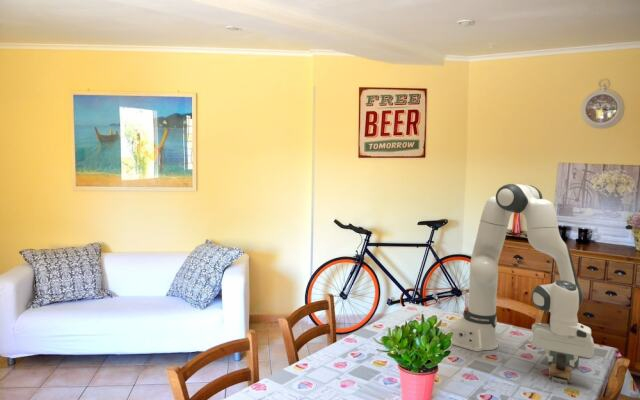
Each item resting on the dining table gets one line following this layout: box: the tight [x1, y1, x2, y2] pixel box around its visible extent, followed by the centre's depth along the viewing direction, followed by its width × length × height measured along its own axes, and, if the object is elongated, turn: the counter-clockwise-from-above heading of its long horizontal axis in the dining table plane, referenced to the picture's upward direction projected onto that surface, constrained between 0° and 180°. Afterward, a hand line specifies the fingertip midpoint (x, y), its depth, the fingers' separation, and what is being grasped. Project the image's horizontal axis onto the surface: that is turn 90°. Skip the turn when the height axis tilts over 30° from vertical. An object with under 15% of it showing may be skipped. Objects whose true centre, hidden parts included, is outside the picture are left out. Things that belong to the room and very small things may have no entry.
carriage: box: [548, 353, 573, 384], centre depth 175 cm, size 7×6×8 cm
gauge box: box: [548, 350, 580, 370], centre depth 188 cm, size 10×7×6 cm
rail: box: [550, 362, 570, 386], centre depth 178 cm, size 5×15×2 cm, turn 149°
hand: (561, 363), depth 174 cm, fingers open, 5 cm apart
